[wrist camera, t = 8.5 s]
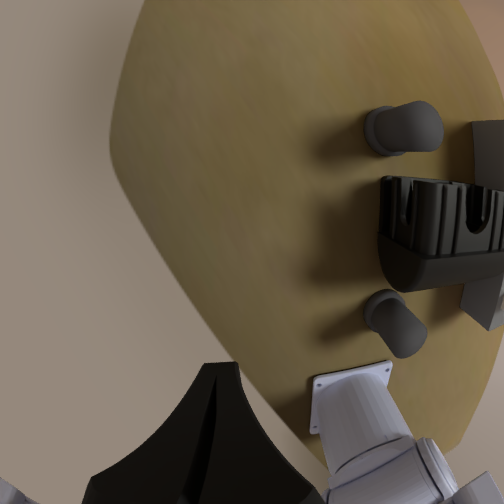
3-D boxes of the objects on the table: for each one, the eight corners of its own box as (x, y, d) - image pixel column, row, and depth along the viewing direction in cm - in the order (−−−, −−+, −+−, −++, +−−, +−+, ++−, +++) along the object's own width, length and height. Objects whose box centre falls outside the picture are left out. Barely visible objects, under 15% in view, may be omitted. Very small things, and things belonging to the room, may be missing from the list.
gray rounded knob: (407, 156, 17) (449, 158, 12) (365, 155, 17) (403, 155, 12) (402, 110, 16) (443, 100, 11) (361, 106, 16) (396, 91, 11)
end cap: (369, 268, 20) (414, 310, 14) (374, 174, 18) (430, 183, 11) (458, 260, 20) (506, 289, 14) (466, 182, 18) (522, 195, 12)
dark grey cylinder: (396, 322, 22) (424, 355, 17) (361, 330, 22) (384, 366, 17) (402, 286, 20) (434, 314, 16) (365, 292, 20) (393, 325, 16)
